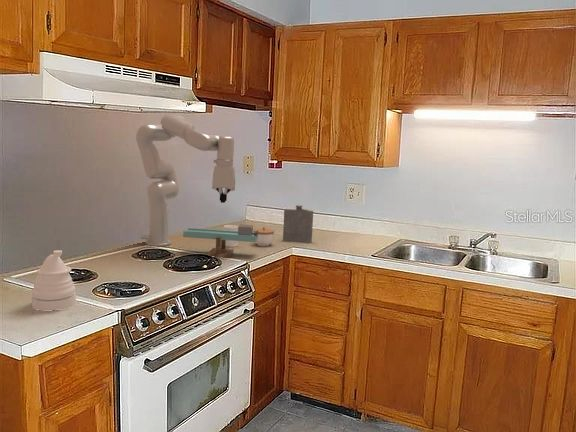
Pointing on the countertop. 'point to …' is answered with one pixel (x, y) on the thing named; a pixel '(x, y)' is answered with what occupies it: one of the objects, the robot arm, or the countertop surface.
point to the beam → (219, 234)
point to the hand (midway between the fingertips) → (222, 202)
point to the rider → (245, 230)
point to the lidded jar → (264, 236)
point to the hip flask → (298, 225)
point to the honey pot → (53, 285)
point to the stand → (220, 249)
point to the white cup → (231, 228)
